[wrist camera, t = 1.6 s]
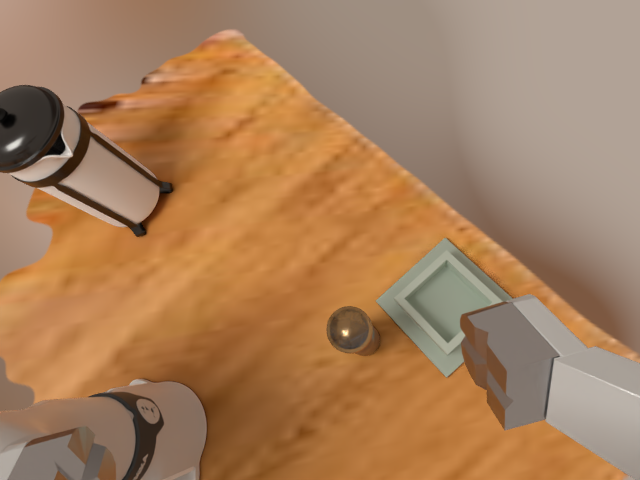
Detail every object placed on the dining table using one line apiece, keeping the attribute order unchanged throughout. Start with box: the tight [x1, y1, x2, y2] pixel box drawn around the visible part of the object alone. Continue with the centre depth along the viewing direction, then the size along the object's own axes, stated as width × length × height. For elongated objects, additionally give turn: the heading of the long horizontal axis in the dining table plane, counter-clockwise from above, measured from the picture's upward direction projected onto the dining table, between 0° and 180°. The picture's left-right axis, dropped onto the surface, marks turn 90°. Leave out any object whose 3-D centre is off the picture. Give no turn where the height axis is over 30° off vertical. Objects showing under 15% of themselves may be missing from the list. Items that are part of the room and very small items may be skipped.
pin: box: [327, 306, 380, 356], centre depth 52 cm, size 5×5×14 cm
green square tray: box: [376, 238, 513, 378], centre depth 56 cm, size 14×14×4 cm
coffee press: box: [0, 85, 173, 237], centre depth 63 cm, size 17×16×30 cm
